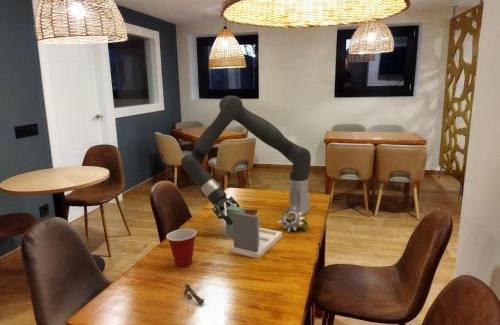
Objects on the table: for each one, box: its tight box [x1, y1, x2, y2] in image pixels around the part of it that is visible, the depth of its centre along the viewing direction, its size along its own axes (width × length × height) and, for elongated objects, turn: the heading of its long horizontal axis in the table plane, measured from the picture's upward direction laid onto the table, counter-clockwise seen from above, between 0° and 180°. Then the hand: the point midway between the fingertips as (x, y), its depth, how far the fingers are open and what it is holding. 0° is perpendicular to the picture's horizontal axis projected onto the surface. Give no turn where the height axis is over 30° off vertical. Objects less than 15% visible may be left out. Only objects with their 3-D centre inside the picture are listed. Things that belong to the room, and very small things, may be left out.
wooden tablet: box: [244, 209, 258, 216], centre depth 175 cm, size 26×2×10 cm
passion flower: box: [277, 206, 310, 233], centre depth 161 cm, size 11×11×12 cm
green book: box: [225, 205, 245, 237], centre depth 155 cm, size 4×7×12 cm, turn 62°
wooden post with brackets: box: [183, 283, 205, 306], centre depth 110 cm, size 2×8×4 cm, turn 50°
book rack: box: [230, 212, 283, 259], centre depth 145 cm, size 22×12×16 cm, turn 152°
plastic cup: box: [165, 228, 197, 268], centre depth 131 cm, size 11×11×12 cm
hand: (236, 220), depth 155 cm, fingers open, 8 cm apart
